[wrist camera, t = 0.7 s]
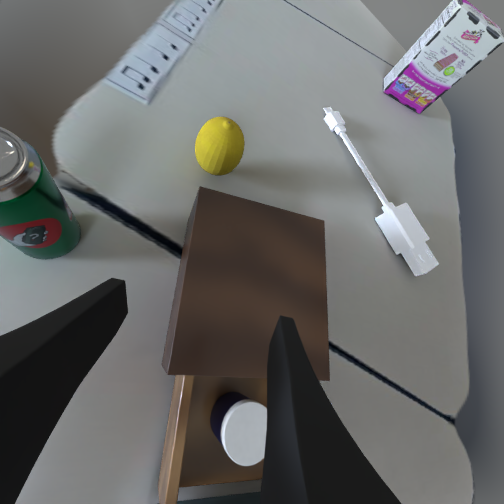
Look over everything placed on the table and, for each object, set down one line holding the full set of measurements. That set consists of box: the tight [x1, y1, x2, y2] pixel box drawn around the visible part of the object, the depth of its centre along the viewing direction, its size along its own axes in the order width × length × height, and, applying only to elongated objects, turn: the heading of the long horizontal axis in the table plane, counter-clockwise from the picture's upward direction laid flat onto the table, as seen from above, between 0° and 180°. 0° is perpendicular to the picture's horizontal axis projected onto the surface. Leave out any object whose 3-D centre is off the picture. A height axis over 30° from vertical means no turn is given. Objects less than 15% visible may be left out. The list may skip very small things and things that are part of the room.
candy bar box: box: [383, 0, 504, 114], centre depth 51 cm, size 11×5×16 cm, turn 78°
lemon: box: [195, 117, 244, 175], centre depth 30 cm, size 6×6×8 cm
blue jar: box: [210, 392, 267, 466], centre depth 21 cm, size 4×4×5 cm
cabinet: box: [162, 187, 330, 381], centre depth 26 cm, size 16×14×8 cm
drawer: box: [158, 375, 267, 504], centre depth 21 cm, size 19×12×6 cm, turn 176°
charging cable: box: [323, 107, 439, 277], centre depth 43 cm, size 5×32×3 cm, turn 27°
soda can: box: [0, 127, 81, 259], centre depth 19 cm, size 5×5×12 cm
